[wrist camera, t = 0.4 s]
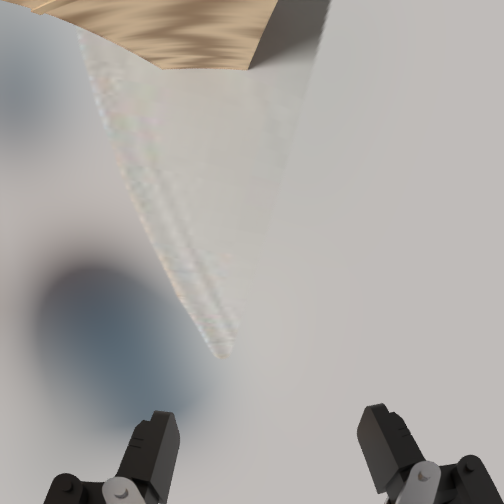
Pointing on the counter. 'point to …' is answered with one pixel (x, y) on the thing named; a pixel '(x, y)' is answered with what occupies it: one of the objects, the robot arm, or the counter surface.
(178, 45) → the wooden block tower
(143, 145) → the counter surface
